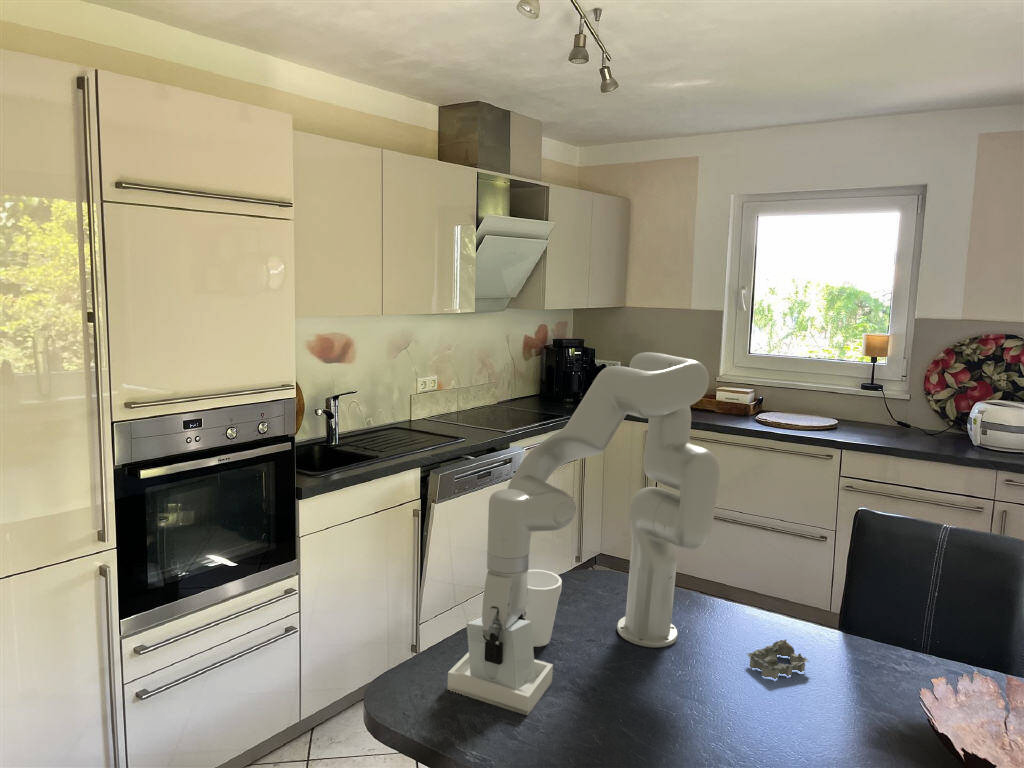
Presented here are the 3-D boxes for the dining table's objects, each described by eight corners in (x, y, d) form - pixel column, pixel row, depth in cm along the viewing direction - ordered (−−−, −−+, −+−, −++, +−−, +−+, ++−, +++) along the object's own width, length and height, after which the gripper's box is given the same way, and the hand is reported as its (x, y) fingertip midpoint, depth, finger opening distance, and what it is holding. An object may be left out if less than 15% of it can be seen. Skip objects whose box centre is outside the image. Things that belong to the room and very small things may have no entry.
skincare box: (537, 677, 132) (532, 619, 132) (516, 691, 127) (511, 631, 127) (491, 668, 138) (486, 612, 138) (469, 681, 133) (464, 623, 133)
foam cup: (553, 653, 146) (557, 592, 144) (508, 646, 148) (511, 585, 146) (560, 631, 155) (564, 573, 153) (517, 624, 157) (520, 567, 155)
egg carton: (784, 656, 151) (787, 637, 150) (811, 676, 144) (814, 656, 143) (742, 664, 147) (744, 644, 146) (767, 684, 140) (770, 664, 139)
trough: (476, 659, 142) (477, 643, 142) (551, 682, 136) (553, 664, 136) (447, 690, 132) (448, 672, 131) (527, 715, 126) (528, 696, 125)
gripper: (509, 539, 139) (505, 623, 142) (466, 574, 124) (464, 667, 127) (545, 547, 137) (542, 632, 140) (507, 583, 121) (503, 678, 124)
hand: (505, 649), depth 133 cm, fingers open, 9 cm apart
